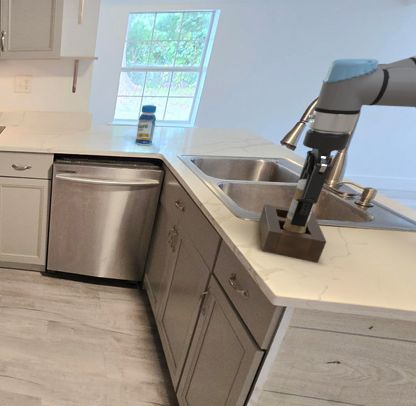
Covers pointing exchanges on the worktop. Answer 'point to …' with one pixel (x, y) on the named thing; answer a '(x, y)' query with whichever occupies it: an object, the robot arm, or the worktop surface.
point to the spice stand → (290, 235)
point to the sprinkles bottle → (294, 203)
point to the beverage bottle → (146, 125)
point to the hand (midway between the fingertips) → (296, 221)
